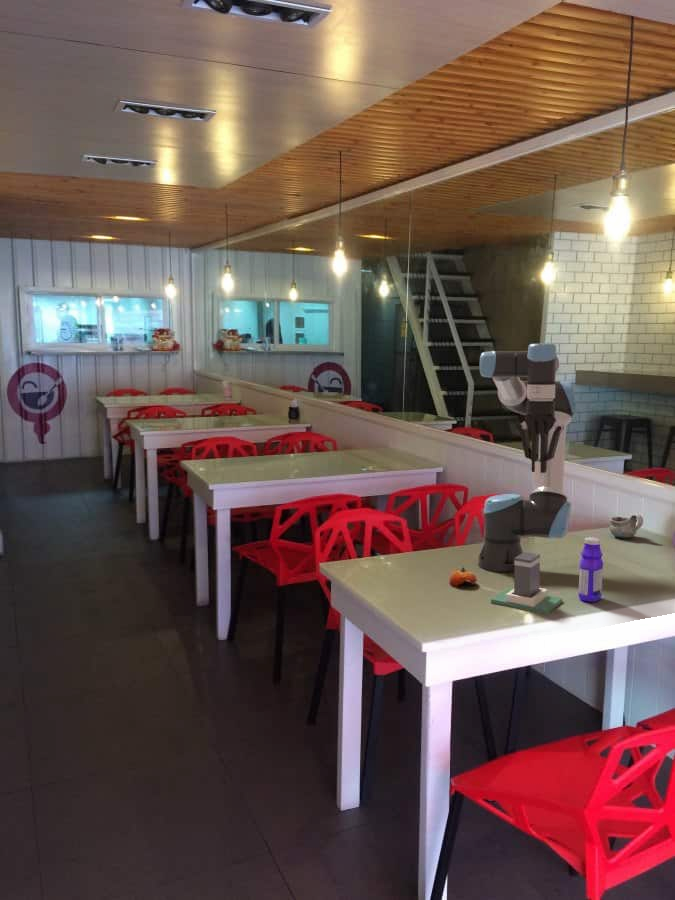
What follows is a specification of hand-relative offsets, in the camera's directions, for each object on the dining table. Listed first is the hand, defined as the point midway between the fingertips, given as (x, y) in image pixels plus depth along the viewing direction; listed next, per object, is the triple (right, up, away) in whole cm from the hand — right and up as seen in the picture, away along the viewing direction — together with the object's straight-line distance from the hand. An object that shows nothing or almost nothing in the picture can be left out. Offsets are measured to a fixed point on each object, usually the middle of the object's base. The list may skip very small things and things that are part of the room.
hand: (538, 483), depth 204 cm
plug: (-4, -32, -2) cm, 32 cm away
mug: (+51, -24, +67) cm, 87 cm away
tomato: (-19, -31, +15) cm, 39 cm away
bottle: (+15, -33, +1) cm, 36 cm away
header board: (-4, -33, -1) cm, 33 cm away
